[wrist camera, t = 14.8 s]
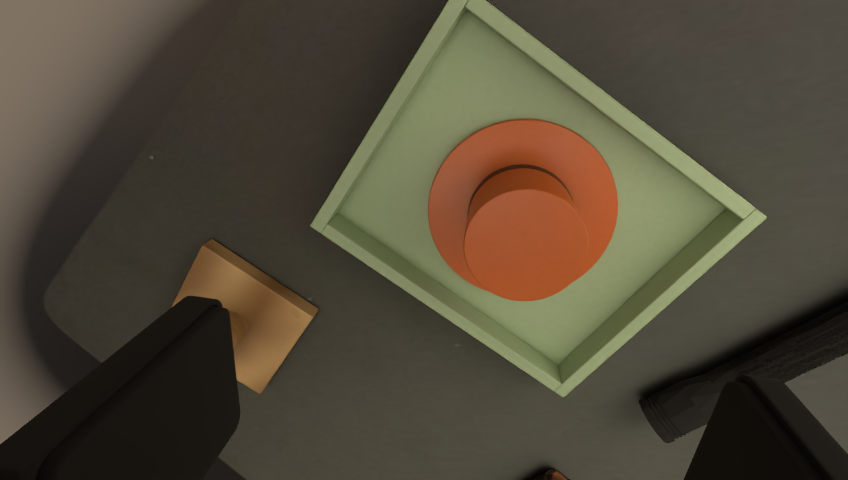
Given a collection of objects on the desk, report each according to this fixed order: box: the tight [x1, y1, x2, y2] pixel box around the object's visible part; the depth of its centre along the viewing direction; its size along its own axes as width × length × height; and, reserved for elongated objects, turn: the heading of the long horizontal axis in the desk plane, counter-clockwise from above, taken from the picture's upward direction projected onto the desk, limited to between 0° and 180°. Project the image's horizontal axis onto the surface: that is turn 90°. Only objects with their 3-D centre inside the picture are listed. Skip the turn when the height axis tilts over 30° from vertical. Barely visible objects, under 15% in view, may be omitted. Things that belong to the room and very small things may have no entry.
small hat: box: [428, 118, 618, 301], centre depth 25 cm, size 11×11×6 cm
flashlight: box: [639, 301, 848, 443], centre depth 27 cm, size 3×16×3 cm, turn 132°
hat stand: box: [171, 239, 319, 394], centre depth 29 cm, size 9×9×11 cm
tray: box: [310, 0, 767, 397], centre depth 27 cm, size 20×16×3 cm
